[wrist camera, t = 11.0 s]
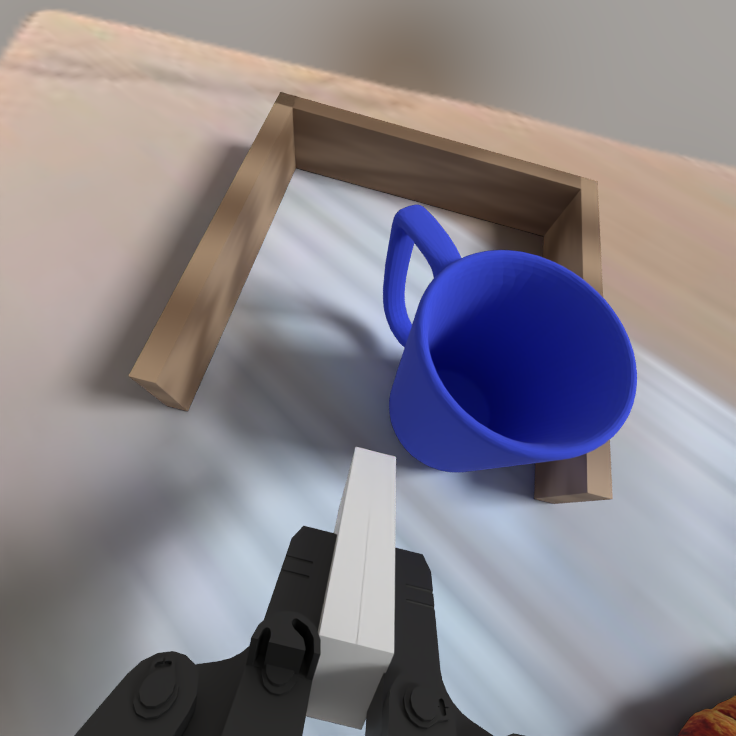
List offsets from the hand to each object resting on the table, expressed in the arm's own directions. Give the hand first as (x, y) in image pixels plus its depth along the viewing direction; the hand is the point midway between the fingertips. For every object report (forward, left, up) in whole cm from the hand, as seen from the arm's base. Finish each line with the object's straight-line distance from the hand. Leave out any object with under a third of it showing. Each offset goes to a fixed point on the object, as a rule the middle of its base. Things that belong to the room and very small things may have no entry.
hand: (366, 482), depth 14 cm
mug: (+5, -6, -7) cm, 10 cm away
